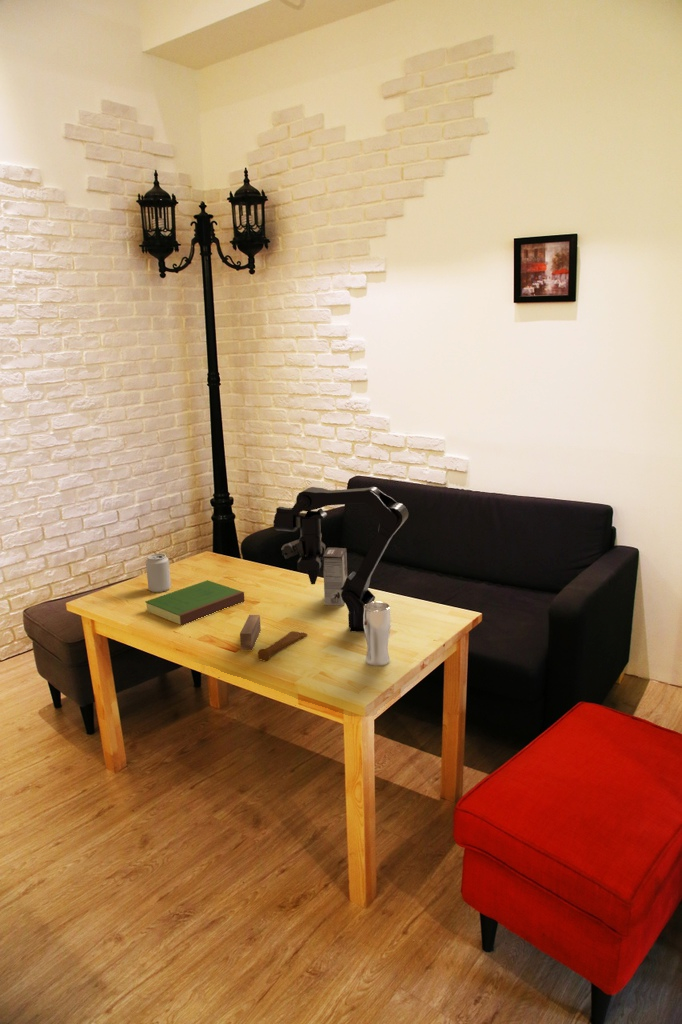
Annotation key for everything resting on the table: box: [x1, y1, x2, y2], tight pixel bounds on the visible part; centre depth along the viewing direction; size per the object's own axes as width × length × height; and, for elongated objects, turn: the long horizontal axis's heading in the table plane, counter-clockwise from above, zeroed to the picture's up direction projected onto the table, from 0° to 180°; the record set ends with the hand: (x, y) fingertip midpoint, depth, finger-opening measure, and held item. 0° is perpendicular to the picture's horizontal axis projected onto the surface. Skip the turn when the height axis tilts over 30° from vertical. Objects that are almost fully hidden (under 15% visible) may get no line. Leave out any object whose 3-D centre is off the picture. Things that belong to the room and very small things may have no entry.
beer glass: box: [363, 601, 392, 667], centre depth 180 cm, size 7×7×15 cm
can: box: [145, 553, 172, 593], centre depth 239 cm, size 8×8×12 cm
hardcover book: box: [144, 579, 245, 626], centre depth 224 cm, size 25×19×4 cm
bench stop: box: [239, 614, 262, 651], centre depth 196 cm, size 3×13×5 cm, turn 176°
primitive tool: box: [257, 631, 308, 661], centre depth 192 cm, size 19×6×4 cm, turn 154°
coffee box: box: [322, 547, 348, 606], centre depth 223 cm, size 9×6×16 cm
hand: (313, 584), depth 205 cm, fingers closed
